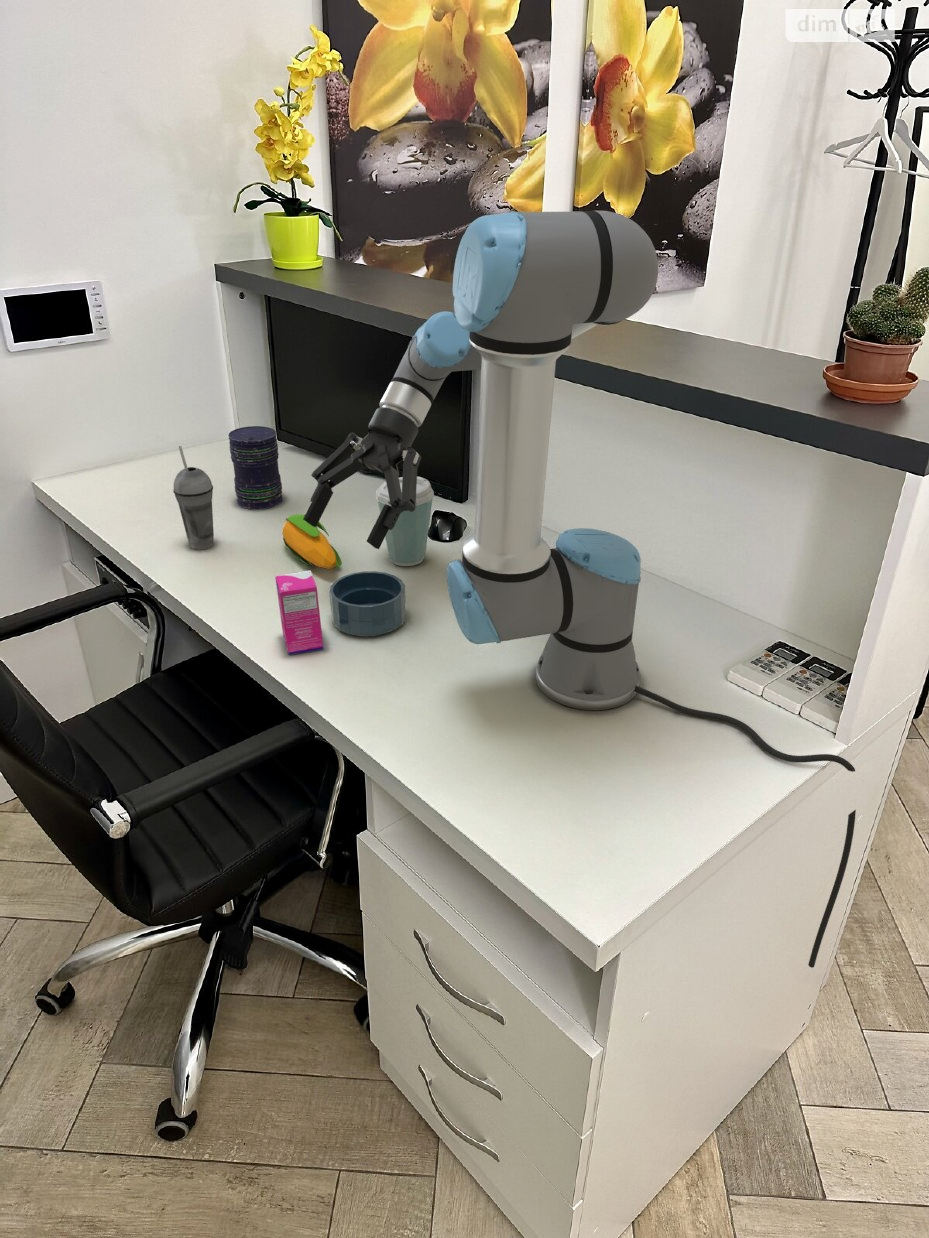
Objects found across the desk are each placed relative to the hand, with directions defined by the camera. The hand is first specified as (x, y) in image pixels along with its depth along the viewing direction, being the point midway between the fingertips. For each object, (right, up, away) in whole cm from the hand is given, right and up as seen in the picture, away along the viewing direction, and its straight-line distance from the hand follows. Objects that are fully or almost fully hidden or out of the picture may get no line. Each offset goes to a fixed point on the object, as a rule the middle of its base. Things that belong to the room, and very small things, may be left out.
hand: (340, 534), depth 140 cm
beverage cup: (-31, +1, +32) cm, 45 cm away
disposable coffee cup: (+9, -2, +28) cm, 29 cm away
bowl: (+4, -14, +8) cm, 16 cm away
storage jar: (-24, +12, +51) cm, 58 cm away
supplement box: (-6, -17, +1) cm, 19 cm away
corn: (-8, -2, +27) cm, 29 cm away
